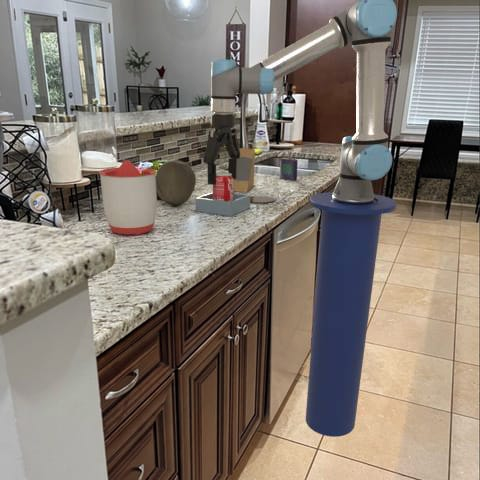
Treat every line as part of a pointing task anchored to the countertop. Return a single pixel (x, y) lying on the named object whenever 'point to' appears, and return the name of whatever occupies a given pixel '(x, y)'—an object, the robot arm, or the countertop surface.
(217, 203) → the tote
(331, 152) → the countertop surface
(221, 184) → the soda can
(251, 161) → the sandwich container
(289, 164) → the dark purple green box
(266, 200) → the coaster
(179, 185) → the cantaloupe
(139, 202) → the citrus juicer
